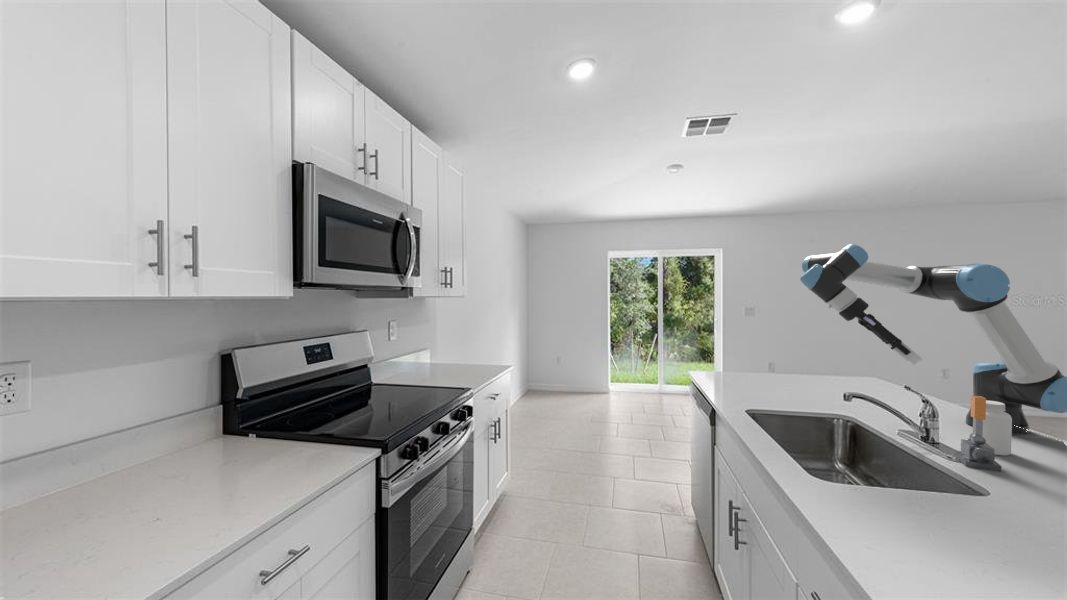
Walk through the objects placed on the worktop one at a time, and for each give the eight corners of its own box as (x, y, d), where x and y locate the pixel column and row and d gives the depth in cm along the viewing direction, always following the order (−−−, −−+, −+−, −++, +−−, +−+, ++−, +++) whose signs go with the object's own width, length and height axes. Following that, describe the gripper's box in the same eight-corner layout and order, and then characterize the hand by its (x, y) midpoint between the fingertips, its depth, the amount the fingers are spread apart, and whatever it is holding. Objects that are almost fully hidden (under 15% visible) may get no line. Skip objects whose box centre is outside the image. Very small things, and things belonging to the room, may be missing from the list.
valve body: (965, 466, 118) (966, 446, 117) (954, 455, 125) (954, 436, 125) (1001, 471, 114) (1001, 450, 114) (987, 460, 122) (987, 440, 121)
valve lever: (973, 444, 119) (974, 397, 118) (969, 440, 121) (970, 395, 121) (985, 445, 117) (986, 398, 117) (980, 441, 120) (981, 396, 120)
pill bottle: (966, 447, 131) (967, 400, 130) (982, 444, 133) (983, 398, 133) (1000, 457, 123) (1002, 407, 123) (1017, 454, 126) (1019, 404, 125)
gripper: (833, 311, 143) (895, 363, 135) (841, 314, 126) (911, 373, 119) (853, 295, 140) (917, 347, 132) (864, 297, 124) (937, 356, 116)
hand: (914, 359), depth 126 cm, fingers open, 6 cm apart
